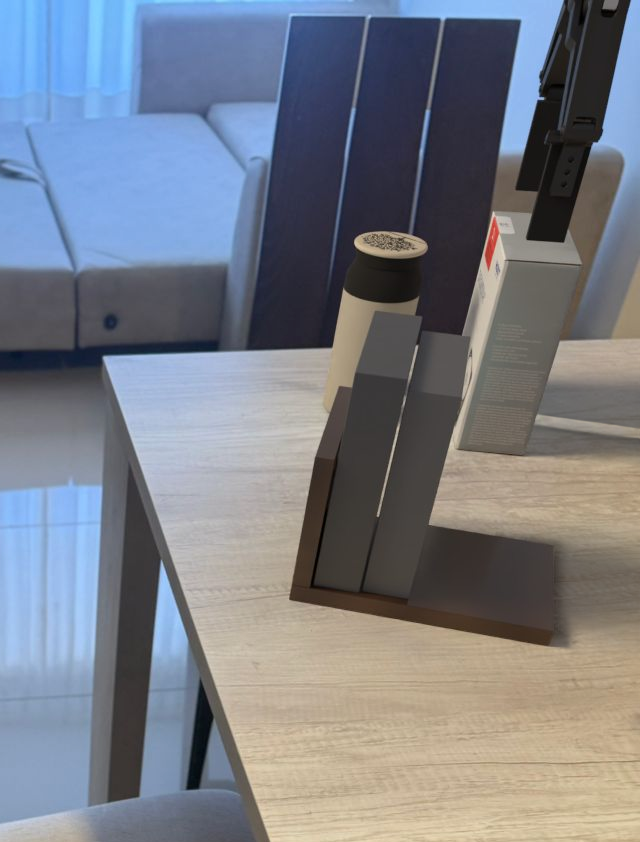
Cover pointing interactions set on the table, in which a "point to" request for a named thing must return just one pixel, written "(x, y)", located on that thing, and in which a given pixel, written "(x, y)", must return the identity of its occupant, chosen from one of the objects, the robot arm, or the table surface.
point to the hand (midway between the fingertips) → (537, 214)
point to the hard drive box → (513, 333)
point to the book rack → (435, 567)
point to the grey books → (371, 449)
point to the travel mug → (372, 297)
